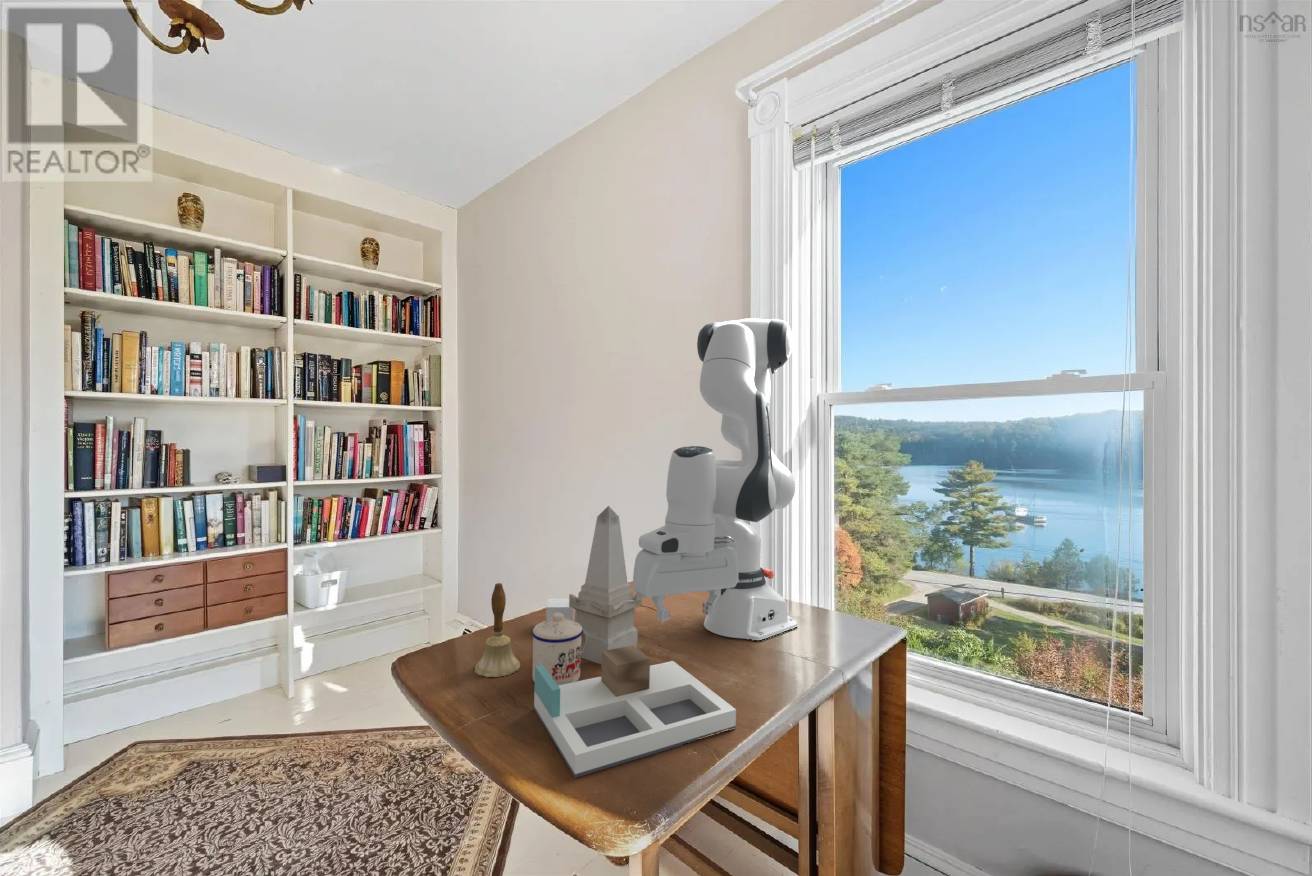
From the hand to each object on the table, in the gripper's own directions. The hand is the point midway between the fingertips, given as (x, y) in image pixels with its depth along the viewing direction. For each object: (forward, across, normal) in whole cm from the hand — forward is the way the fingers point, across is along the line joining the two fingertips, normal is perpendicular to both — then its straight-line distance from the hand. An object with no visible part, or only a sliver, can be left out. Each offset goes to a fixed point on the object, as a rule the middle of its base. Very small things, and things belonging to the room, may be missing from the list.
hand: (686, 616), depth 93 cm
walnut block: (+10, +11, 0) cm, 15 cm away
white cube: (+13, +10, -37) cm, 40 cm away
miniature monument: (+13, +6, -21) cm, 25 cm away
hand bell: (+13, +27, -23) cm, 38 cm away
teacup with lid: (+13, +17, -15) cm, 26 cm away
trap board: (+13, +12, +4) cm, 19 cm away
